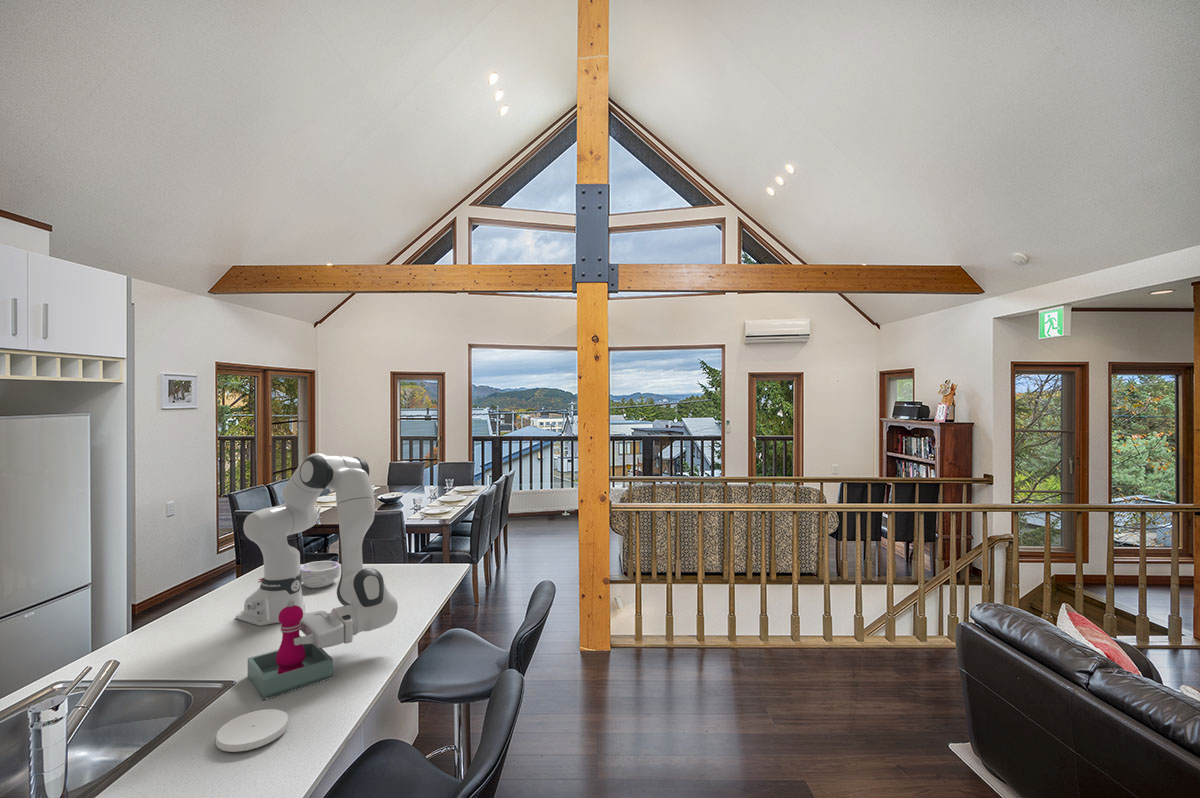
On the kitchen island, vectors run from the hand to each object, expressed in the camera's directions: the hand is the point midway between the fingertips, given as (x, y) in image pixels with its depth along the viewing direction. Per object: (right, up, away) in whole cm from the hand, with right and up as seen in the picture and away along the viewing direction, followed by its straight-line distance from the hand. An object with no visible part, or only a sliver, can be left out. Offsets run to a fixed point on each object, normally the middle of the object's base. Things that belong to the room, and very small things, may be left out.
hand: (288, 636), depth 156 cm
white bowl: (-30, -11, +77) cm, 84 cm away
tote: (0, -11, 0) cm, 11 cm away
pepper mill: (0, -10, 0) cm, 11 cm away
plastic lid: (+7, -12, -27) cm, 30 cm away
